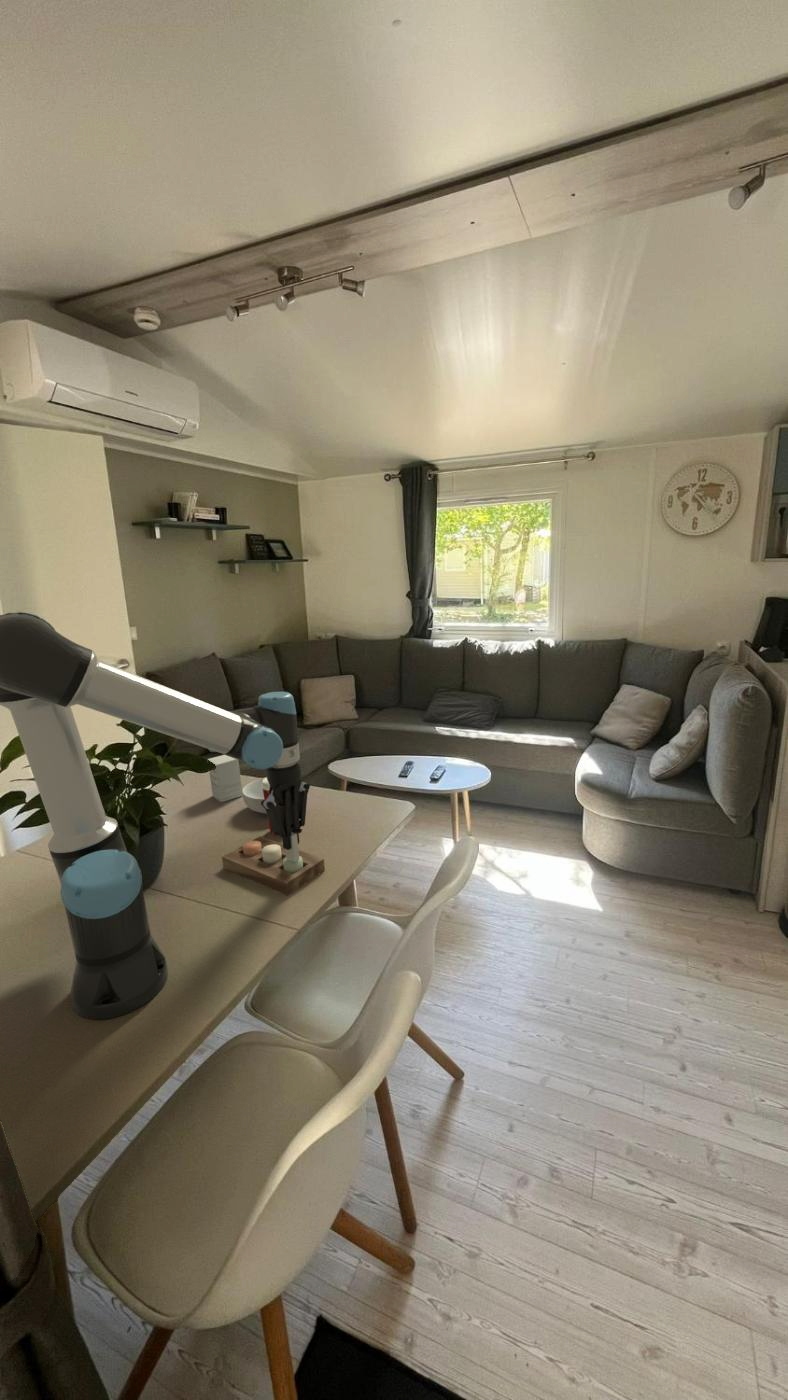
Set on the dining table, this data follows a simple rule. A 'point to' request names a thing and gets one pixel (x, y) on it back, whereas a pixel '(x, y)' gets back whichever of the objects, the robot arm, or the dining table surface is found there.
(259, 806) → the cereal bowl
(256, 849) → the brown egg
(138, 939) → the robot arm
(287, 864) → the pale green rounded block
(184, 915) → the dining table surface
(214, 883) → the dining table surface
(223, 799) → the supplement box
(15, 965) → the dining table surface
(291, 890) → the walnut panel
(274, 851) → the cream rounded piece
